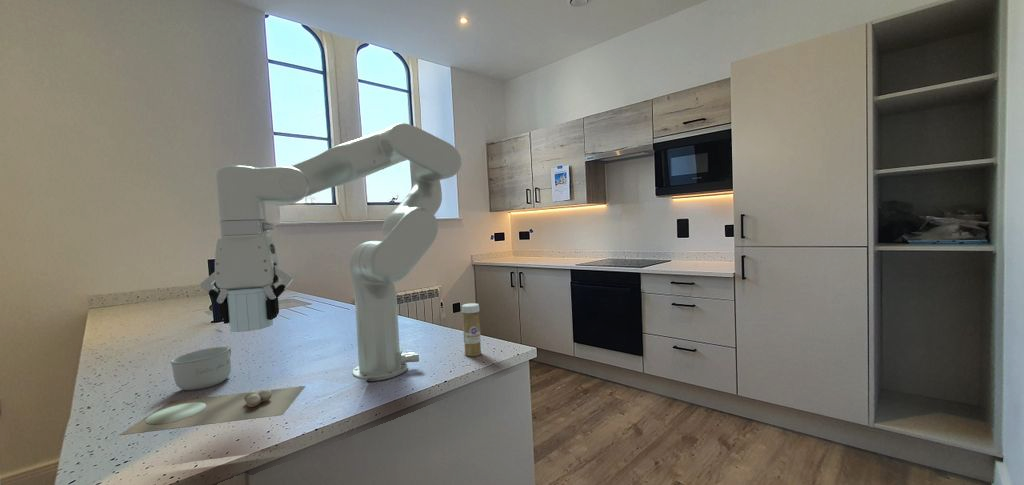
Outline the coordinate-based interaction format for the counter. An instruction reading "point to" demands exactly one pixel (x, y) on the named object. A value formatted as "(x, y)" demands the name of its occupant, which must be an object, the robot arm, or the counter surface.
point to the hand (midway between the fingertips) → (251, 319)
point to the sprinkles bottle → (471, 329)
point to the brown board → (218, 409)
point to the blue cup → (247, 309)
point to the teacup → (202, 368)
